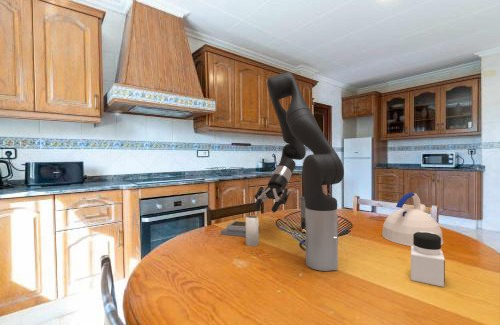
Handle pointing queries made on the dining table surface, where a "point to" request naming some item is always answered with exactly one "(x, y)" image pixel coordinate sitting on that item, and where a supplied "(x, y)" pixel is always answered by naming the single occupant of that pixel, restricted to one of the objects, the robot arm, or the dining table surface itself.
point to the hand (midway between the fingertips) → (264, 209)
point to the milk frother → (303, 213)
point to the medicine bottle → (427, 259)
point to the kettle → (409, 222)
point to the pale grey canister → (252, 231)
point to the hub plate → (235, 229)
